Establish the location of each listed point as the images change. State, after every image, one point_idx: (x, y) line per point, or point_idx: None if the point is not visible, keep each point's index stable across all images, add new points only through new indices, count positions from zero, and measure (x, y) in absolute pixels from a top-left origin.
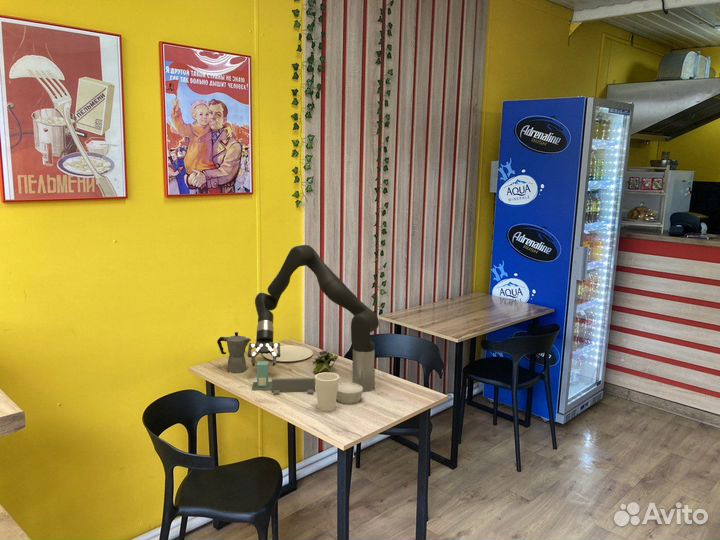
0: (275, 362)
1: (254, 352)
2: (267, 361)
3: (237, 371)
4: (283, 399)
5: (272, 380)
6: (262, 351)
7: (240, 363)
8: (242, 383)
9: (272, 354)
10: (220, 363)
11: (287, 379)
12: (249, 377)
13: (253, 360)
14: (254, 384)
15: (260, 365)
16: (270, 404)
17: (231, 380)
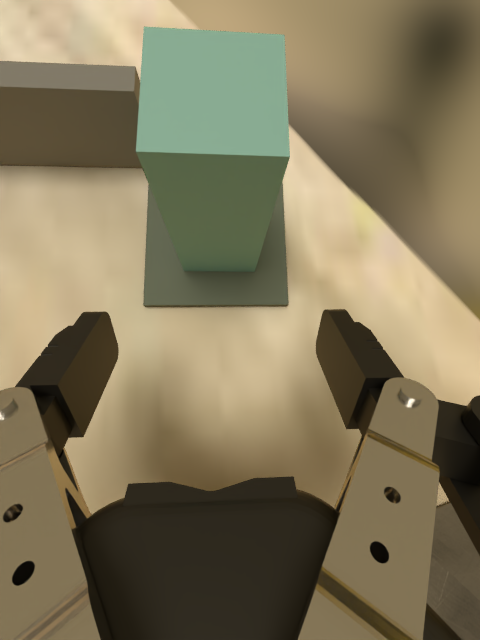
0: (63, 334)
1: (417, 442)
2: (148, 146)
3: (441, 514)
4: (94, 58)
5: (132, 72)
6: (251, 484)
7: (475, 577)
8: (355, 296)
9: (48, 432)
10: None
11: (3, 64)
12: (327, 408)
13: (356, 333)
14: (275, 257)
15: (237, 38)
16: (164, 11)
17: (437, 352)
